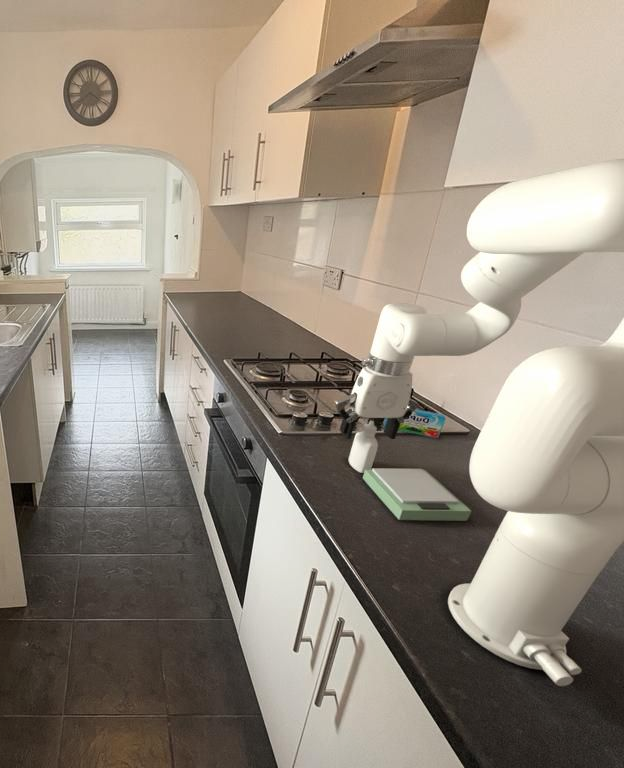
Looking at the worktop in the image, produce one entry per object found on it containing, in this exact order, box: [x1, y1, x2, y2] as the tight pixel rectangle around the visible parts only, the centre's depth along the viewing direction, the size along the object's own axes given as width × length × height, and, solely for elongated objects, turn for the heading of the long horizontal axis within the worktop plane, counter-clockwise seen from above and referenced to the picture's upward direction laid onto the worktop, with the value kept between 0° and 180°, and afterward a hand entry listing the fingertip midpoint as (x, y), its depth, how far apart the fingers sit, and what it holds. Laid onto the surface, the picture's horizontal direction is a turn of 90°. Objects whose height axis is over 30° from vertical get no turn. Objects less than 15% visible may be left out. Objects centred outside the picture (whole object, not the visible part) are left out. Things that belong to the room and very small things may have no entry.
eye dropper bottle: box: [348, 420, 379, 474], centre depth 93 cm, size 4×6×12 cm
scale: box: [362, 467, 472, 522], centre depth 85 cm, size 13×13×3 cm
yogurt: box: [383, 409, 446, 439], centre depth 108 cm, size 12×2×6 cm, turn 63°
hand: (366, 435), depth 92 cm, fingers open, 9 cm apart
